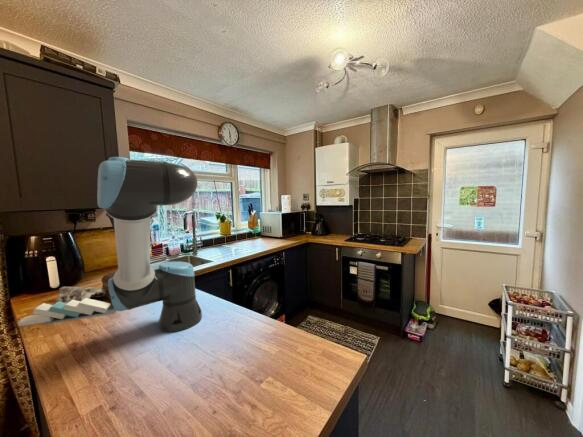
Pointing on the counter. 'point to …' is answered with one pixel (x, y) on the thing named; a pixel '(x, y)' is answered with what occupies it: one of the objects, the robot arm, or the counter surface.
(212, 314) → the counter surface
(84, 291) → the rock
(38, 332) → the counter surface
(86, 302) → the domino
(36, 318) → the domino
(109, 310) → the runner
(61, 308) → the teal domino
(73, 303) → the domino
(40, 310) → the domino
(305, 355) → the counter surface
